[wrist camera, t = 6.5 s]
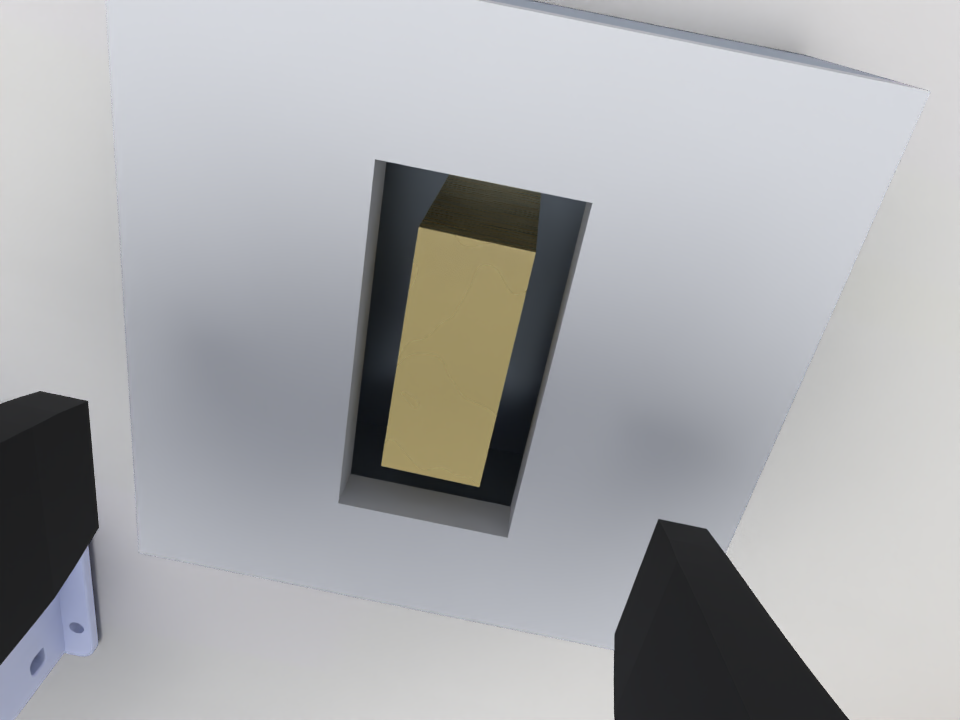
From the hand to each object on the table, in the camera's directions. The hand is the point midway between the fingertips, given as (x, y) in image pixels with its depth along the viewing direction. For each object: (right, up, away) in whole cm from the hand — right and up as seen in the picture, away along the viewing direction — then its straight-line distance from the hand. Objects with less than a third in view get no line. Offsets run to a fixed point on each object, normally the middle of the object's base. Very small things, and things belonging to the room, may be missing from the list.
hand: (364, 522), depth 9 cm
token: (+1, +4, +8) cm, 10 cm away
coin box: (+1, +5, +9) cm, 10 cm away
